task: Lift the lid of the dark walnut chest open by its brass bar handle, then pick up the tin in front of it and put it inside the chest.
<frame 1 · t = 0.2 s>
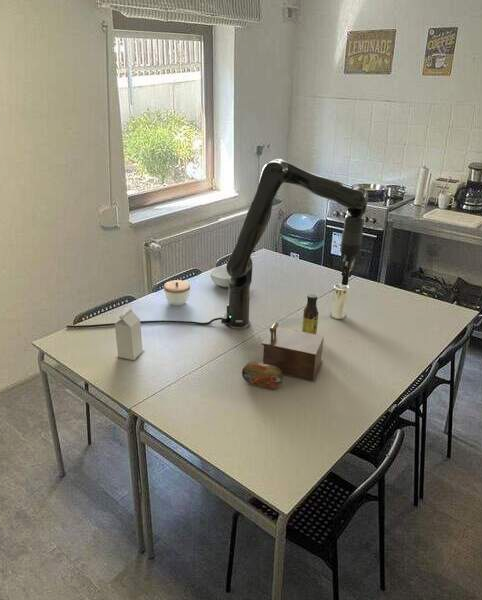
hand: (346, 280, 192), 29 cm above the table, tool pointing down, fingers open, 8 cm apart
tin: (262, 384, 179), on the table
cereal bowl: (226, 284, 258), on the table
sauce bottle: (308, 338, 209), on the table
lid: (293, 335, 184), point 14 cm above the table, hinge at 0.0°
milk carton: (130, 354, 195), on the table
milkshake glass: (338, 316, 227), on the table
chest: (292, 365, 190), on the table
lidded bowl: (177, 302, 238), on the table
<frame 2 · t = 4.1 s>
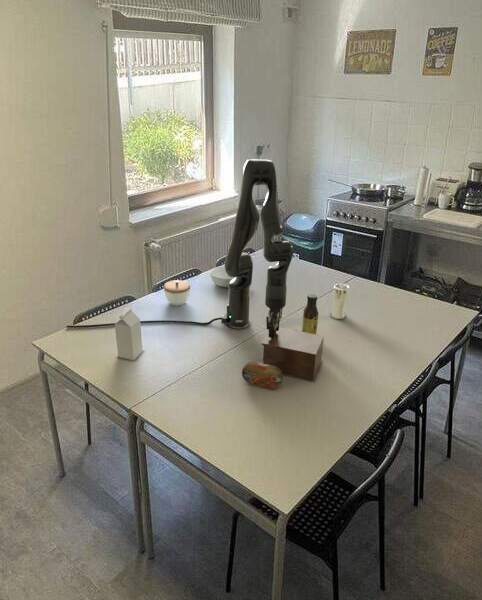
hand: (273, 333, 187), 13 cm above the table, tool pointing down, fingers closed on lid, 5 cm apart
lid: (293, 335, 184), point 13 cm above the table, hinge at 0.0°, touching gripper
everything else where it was.
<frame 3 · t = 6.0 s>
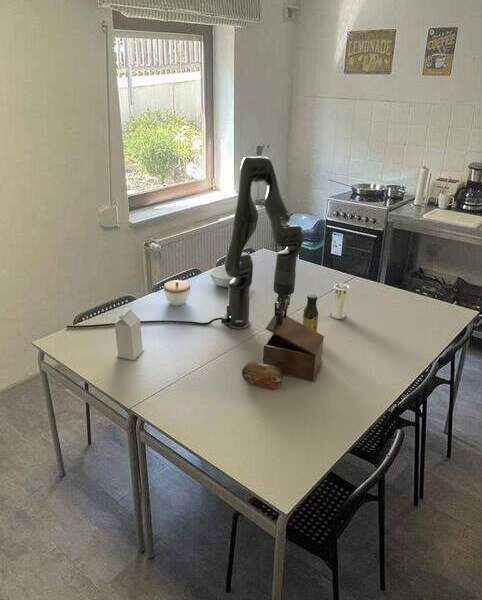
hand: (281, 320, 183), 19 cm above the table, tool pointing down, fingers closed on lid, 5 cm apart
lid: (297, 328, 182), point 17 cm above the table, hinge at 20.4°, touching gripper
everything else where it was.
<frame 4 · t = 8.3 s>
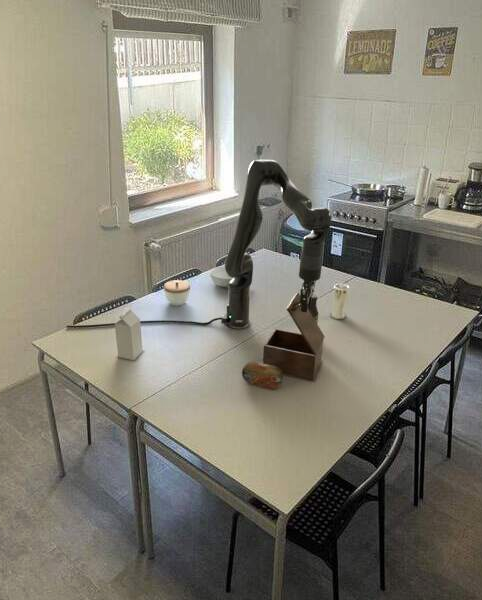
hand: (305, 308, 177), 26 cm above the table, tool pointing down, fingers closed on lid, 5 cm apart
lid: (311, 321, 179), point 21 cm above the table, hinge at 55.1°, touching gripper
everything else where it was.
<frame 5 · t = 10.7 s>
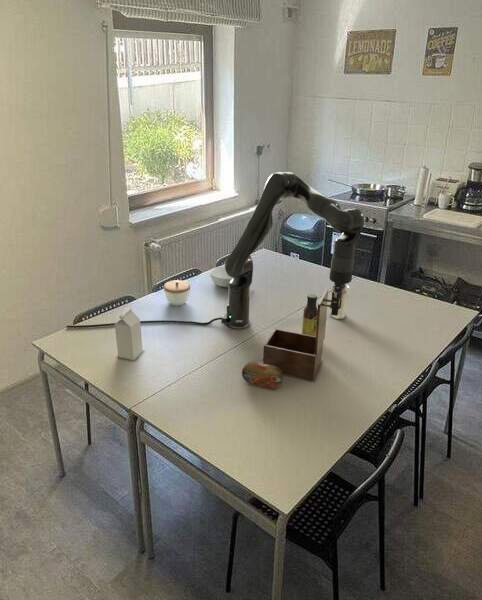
hand: (335, 311, 173), 27 cm above the table, tool pointing down, fingers closed on lid, 5 cm apart
lid: (327, 322, 176), point 22 cm above the table, hinge at 88.2°, touching gripper
everything else where it was.
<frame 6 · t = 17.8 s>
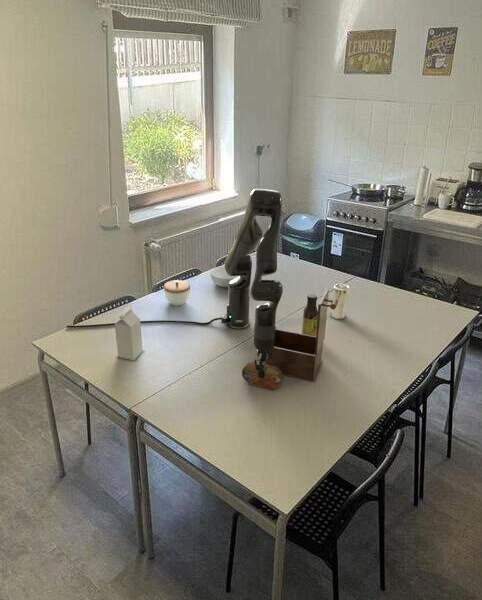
hand: (262, 374, 177), 4 cm above the table, tool pointing down, fingers closed on tin, 2 cm apart
tin: (262, 384, 179), on the table, touching gripper
lid: (328, 322, 176), point 21 cm above the table, hinge at 88.7°
everything else where it was.
when the fingers open (7 cm above the table, at t = 26.5 s): tin drops 2 cm, resting on chest.
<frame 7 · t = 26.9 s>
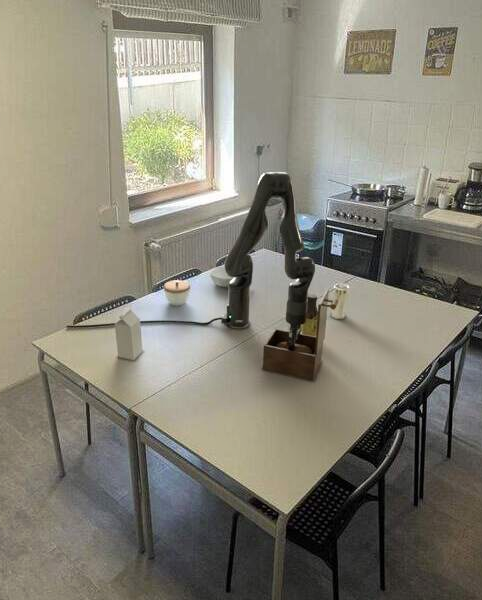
hand: (293, 348, 186), 8 cm above the table, tool pointing down, fingers open, 6 cm apart
tin: (292, 363, 190), point 1 cm above the table, touching chest
everything else where it was.
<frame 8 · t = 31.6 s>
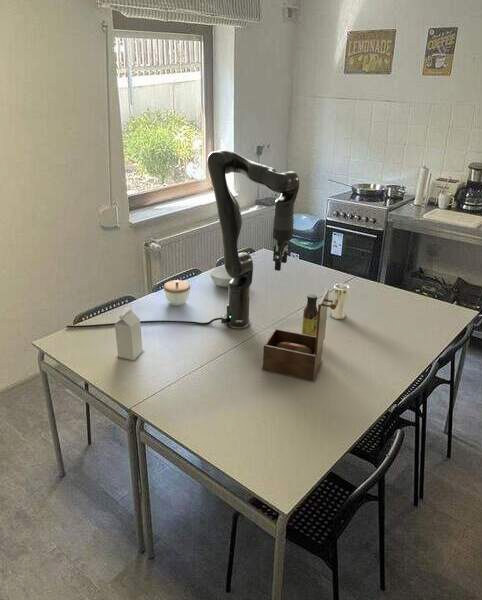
hand: (280, 266, 191), 34 cm above the table, tool pointing down, fingers open, 8 cm apart
nothing on the table moved.
at the end: lid at +89° (first picture: +0°); tin inside the target area in the chest (0.6 cm from its centre), point 0.6 cm above the chest's base; the gripper is holding nothing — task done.
